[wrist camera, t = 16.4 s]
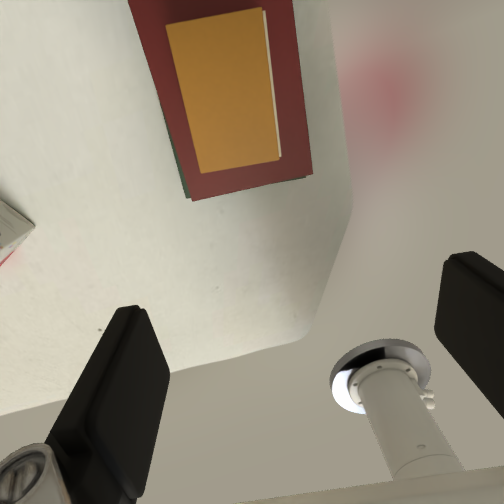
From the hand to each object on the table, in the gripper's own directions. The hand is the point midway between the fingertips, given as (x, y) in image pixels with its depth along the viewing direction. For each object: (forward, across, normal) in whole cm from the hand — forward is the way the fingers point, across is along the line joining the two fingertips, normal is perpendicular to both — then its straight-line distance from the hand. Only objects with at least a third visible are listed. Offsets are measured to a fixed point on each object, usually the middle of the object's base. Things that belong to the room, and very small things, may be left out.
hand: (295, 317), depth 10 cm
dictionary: (+22, +1, -6) cm, 23 cm away
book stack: (+28, +1, -6) cm, 29 cm away
